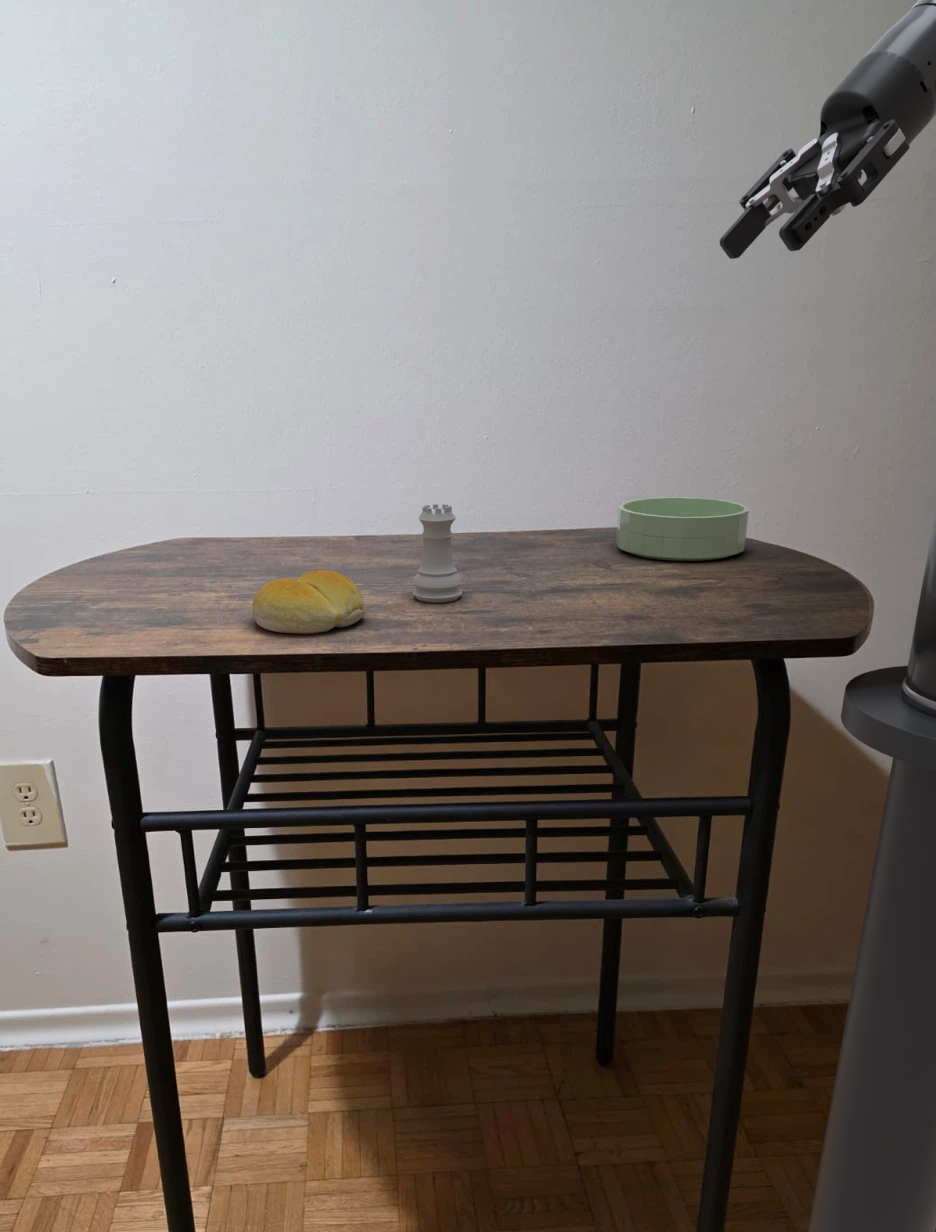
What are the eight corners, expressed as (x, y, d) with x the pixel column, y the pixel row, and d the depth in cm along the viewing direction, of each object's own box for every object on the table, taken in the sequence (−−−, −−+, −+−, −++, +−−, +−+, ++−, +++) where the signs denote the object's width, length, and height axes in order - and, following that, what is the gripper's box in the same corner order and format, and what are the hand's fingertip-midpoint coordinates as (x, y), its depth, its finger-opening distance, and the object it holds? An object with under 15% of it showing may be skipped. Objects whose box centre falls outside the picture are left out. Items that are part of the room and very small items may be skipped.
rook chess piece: (409, 603, 84) (407, 510, 82) (415, 590, 89) (414, 502, 86) (460, 604, 84) (460, 510, 81) (464, 591, 88) (464, 502, 85)
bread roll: (237, 621, 80) (233, 573, 79) (330, 603, 85) (328, 558, 84) (284, 643, 74) (280, 592, 73) (382, 623, 79) (380, 574, 77)
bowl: (769, 557, 98) (775, 512, 96) (653, 567, 95) (656, 521, 94) (702, 534, 110) (705, 494, 108) (596, 542, 107) (598, 501, 105)
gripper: (815, 72, 83) (684, 221, 85) (941, 23, 71) (783, 200, 72) (859, 144, 87) (732, 286, 88) (986, 110, 74) (835, 277, 75)
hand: (755, 247), depth 80 cm, fingers open, 8 cm apart
